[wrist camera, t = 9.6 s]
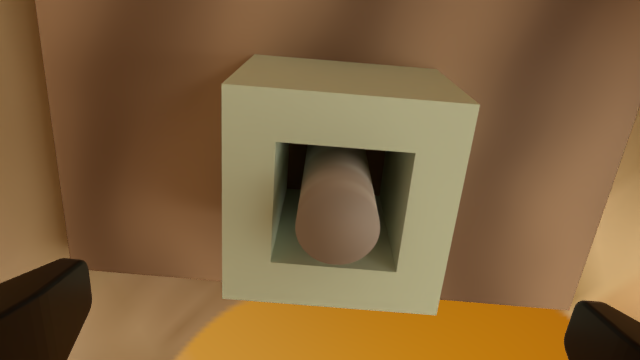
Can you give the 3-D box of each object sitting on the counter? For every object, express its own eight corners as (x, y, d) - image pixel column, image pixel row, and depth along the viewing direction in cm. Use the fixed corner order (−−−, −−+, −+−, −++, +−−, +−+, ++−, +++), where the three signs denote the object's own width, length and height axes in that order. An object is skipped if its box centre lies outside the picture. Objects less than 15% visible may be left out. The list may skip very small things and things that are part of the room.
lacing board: (649, -11, 16) (893, -6, 9) (553, 288, 21) (666, 443, 14) (52, -65, 16) (-168, -103, 9) (89, 249, 20) (-37, 386, 13)
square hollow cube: (436, 68, 16) (480, 104, 11) (409, 229, 18) (436, 315, 13) (254, 54, 16) (221, 83, 11) (250, 217, 18) (222, 298, 13)
